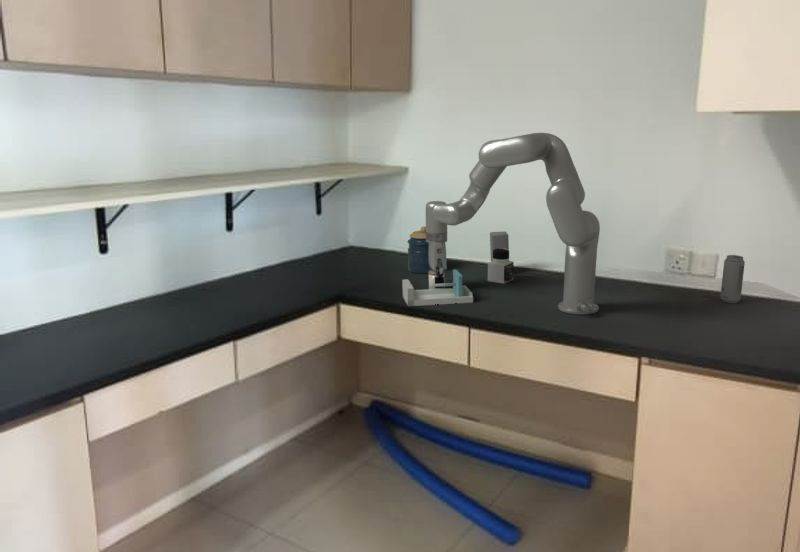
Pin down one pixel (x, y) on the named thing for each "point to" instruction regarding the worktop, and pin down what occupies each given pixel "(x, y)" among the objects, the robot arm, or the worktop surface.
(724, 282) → the energy drink can
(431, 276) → the jar
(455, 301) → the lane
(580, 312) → the robot arm
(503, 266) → the medicine bottle
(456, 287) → the pusher
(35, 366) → the worktop surface
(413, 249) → the canister
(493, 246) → the skincare box
